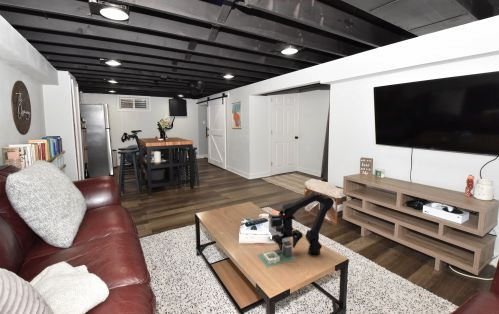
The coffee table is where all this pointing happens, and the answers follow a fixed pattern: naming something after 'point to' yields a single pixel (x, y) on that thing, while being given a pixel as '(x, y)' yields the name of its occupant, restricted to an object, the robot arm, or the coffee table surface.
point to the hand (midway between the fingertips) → (287, 249)
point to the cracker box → (273, 229)
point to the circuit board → (274, 258)
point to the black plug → (287, 249)
